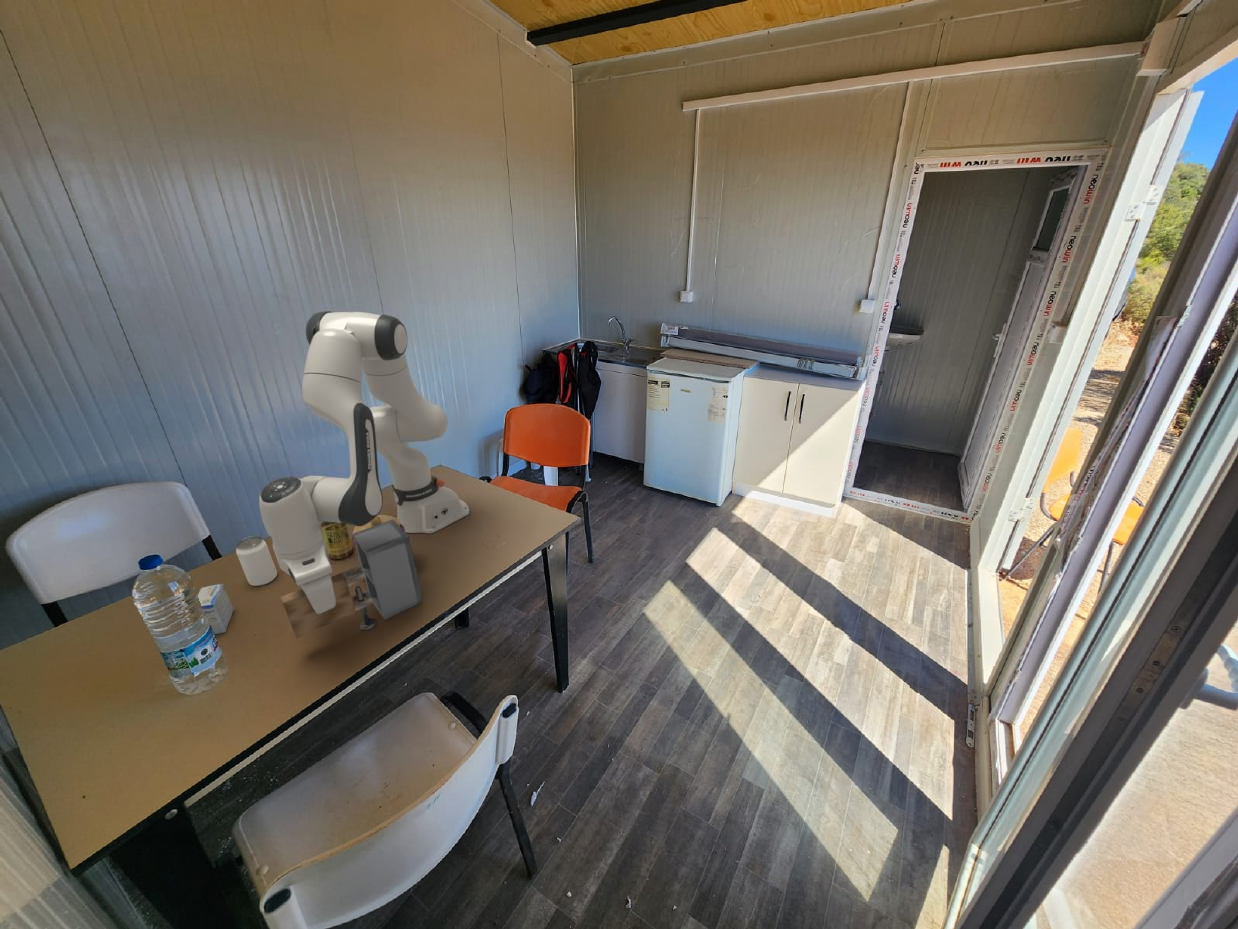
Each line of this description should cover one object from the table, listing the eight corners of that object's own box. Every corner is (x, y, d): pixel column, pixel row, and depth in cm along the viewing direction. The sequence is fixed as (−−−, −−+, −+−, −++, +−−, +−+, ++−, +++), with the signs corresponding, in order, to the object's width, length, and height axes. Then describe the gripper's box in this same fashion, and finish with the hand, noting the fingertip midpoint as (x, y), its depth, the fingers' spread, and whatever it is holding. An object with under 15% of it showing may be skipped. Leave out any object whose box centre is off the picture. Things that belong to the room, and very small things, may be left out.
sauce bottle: (332, 563, 138) (314, 502, 130) (326, 553, 142) (308, 493, 134) (357, 554, 142) (341, 494, 133) (351, 544, 146) (334, 486, 138)
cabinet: (407, 582, 132) (392, 519, 123) (422, 601, 125) (408, 536, 116) (370, 598, 126) (352, 533, 117) (384, 619, 119) (366, 552, 110)
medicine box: (213, 615, 120) (200, 587, 116) (235, 610, 122) (222, 582, 118) (203, 638, 113) (189, 609, 110) (226, 632, 115) (213, 603, 111)
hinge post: (373, 617, 120) (362, 579, 115) (378, 625, 118) (368, 587, 112) (357, 624, 118) (346, 586, 113) (362, 632, 115) (351, 594, 110)
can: (263, 588, 129) (249, 551, 123) (242, 585, 130) (227, 547, 124) (283, 573, 134) (270, 536, 129) (263, 569, 135) (249, 533, 130)
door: (368, 597, 118) (358, 564, 113) (373, 605, 115) (364, 571, 111) (293, 630, 108) (279, 595, 103) (297, 640, 105) (283, 604, 101)
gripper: (273, 537, 107) (292, 587, 113) (297, 584, 93) (316, 637, 100) (306, 526, 111) (322, 575, 117) (333, 569, 97) (349, 622, 103)
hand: (319, 604), depth 108 cm, fingers closed on door, 2 cm apart
